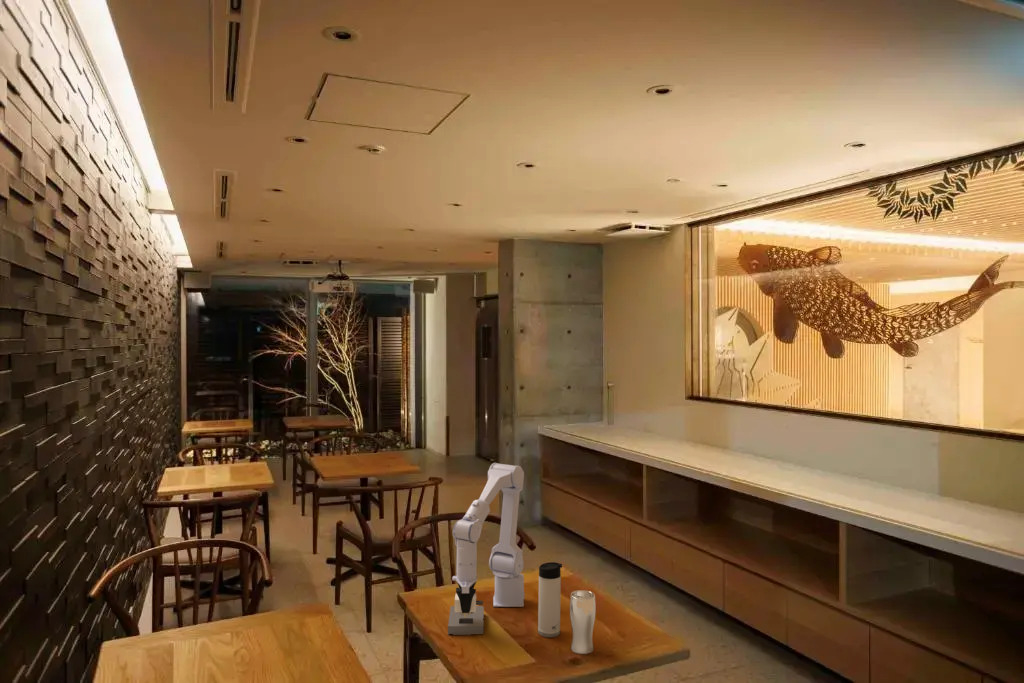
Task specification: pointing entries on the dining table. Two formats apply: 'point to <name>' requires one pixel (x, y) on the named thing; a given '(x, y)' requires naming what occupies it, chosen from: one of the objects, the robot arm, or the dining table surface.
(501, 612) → the dining table surface
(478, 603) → the plug
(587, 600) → the beer glass
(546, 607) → the travel mug
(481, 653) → the dining table surface
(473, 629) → the socket plate
